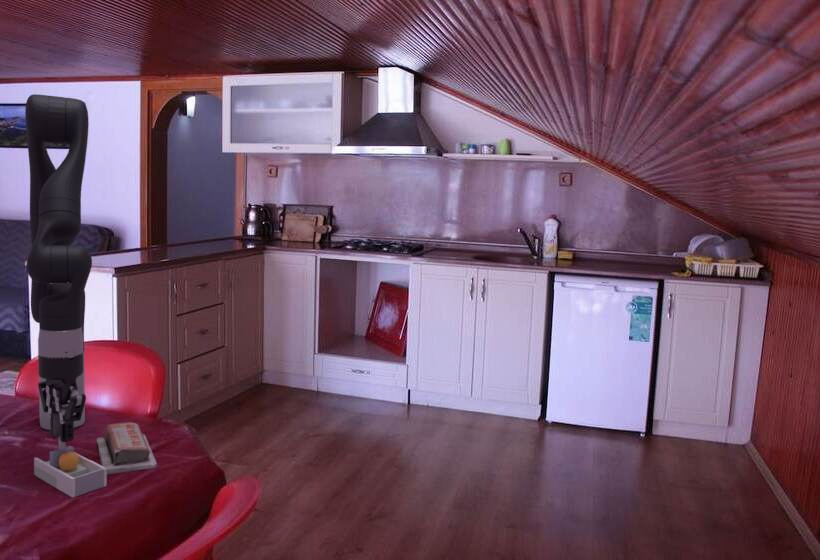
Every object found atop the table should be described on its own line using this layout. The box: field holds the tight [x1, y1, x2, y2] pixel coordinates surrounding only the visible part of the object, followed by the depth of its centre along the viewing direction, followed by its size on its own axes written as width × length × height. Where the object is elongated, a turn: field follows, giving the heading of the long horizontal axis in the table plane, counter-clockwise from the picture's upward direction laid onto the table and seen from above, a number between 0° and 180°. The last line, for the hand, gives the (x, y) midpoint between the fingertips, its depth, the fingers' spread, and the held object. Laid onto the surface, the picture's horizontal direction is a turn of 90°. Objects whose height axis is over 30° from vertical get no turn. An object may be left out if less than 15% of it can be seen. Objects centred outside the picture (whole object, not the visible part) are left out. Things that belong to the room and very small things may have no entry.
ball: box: [58, 451, 79, 471], centre depth 126 cm, size 4×4×4 cm
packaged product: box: [96, 421, 157, 476], centre depth 139 cm, size 18×5×10 cm
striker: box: [49, 411, 75, 468], centre depth 127 cm, size 3×4×10 cm
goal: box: [56, 459, 108, 499], centre depth 123 cm, size 6×6×4 cm
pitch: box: [33, 451, 90, 489], centre depth 127 cm, size 8×6×3 cm
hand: (62, 438), depth 127 cm, fingers closed on striker, 3 cm apart
